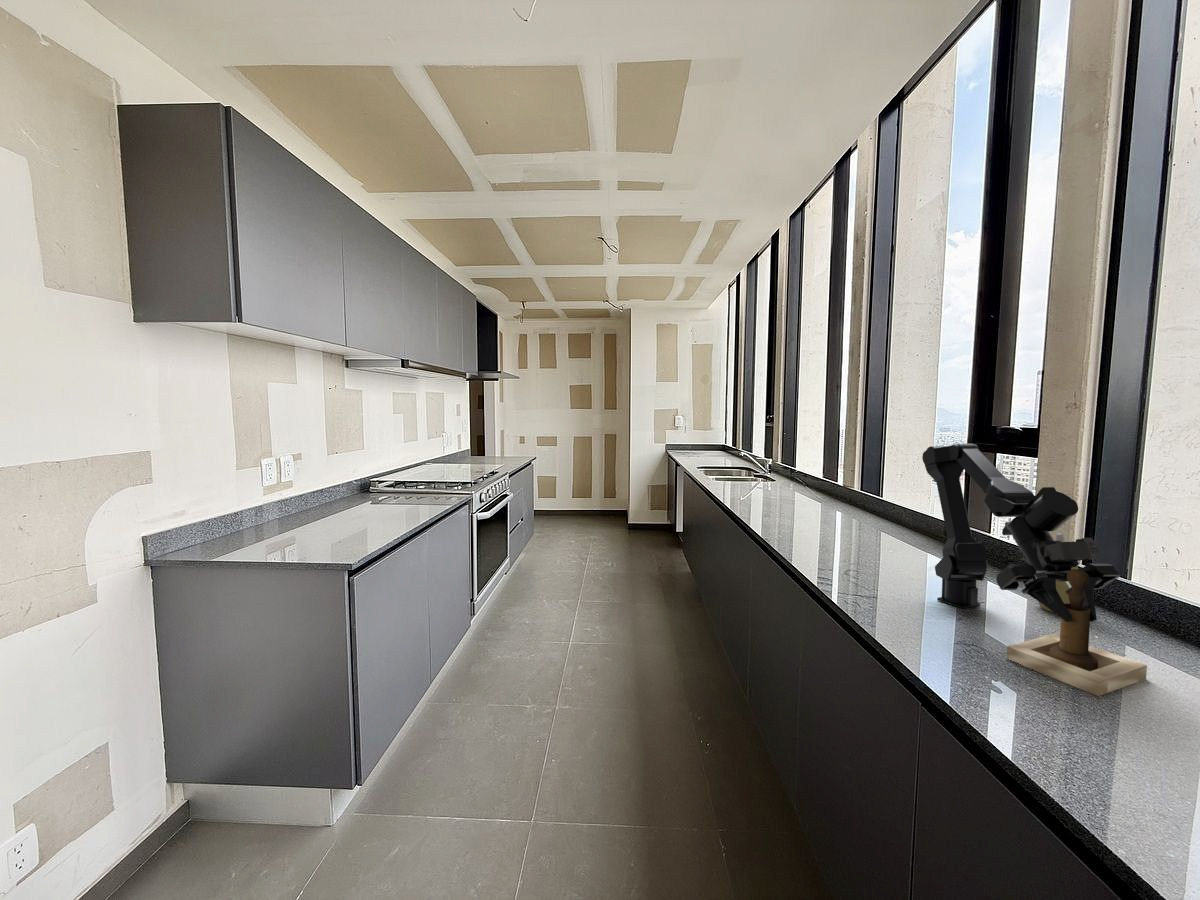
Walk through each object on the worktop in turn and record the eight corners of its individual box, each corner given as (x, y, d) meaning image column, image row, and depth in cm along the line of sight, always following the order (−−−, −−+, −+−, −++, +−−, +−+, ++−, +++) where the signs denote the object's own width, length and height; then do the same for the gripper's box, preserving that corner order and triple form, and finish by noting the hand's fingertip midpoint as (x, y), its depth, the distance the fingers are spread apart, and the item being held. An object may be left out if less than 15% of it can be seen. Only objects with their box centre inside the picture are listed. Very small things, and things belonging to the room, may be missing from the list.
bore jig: (1006, 659, 99) (1006, 646, 99) (1052, 645, 104) (1053, 633, 104) (1098, 696, 86) (1099, 681, 86) (1146, 679, 91) (1146, 665, 91)
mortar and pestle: (1042, 663, 96) (1047, 568, 95) (1057, 654, 100) (1063, 562, 98) (1088, 679, 91) (1094, 578, 89) (1104, 669, 94) (1110, 571, 92)
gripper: (1009, 522, 97) (1055, 602, 87) (1114, 521, 96) (1172, 601, 86) (979, 551, 106) (1017, 627, 96) (1074, 551, 105) (1123, 627, 95)
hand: (1081, 620), depth 93 cm, fingers closed on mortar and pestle, 4 cm apart
